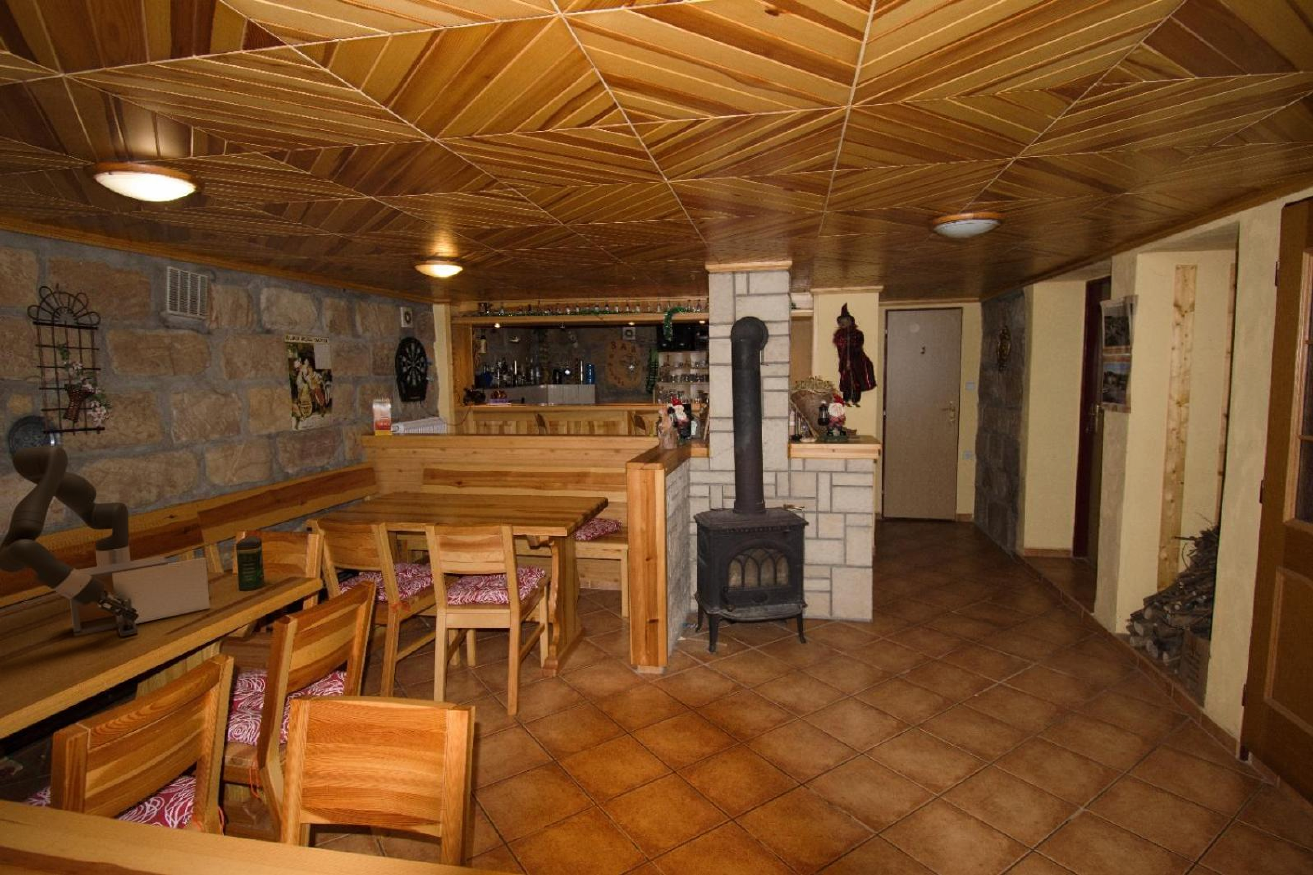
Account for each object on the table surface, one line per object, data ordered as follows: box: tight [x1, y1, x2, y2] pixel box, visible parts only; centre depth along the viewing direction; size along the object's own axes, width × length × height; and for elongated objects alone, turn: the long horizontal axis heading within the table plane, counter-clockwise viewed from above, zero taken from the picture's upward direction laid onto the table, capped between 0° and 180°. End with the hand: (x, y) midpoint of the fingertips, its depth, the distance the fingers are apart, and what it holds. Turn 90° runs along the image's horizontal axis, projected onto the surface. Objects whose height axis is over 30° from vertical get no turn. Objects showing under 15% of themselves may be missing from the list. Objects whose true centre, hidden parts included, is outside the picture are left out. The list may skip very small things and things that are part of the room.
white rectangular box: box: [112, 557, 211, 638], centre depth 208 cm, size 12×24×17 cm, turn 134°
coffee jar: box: [235, 535, 265, 591], centre depth 242 cm, size 10×8×19 cm
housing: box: [69, 555, 169, 637], centre depth 209 cm, size 10×24×18 cm, turn 134°
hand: (135, 615), depth 200 cm, fingers open, 5 cm apart
